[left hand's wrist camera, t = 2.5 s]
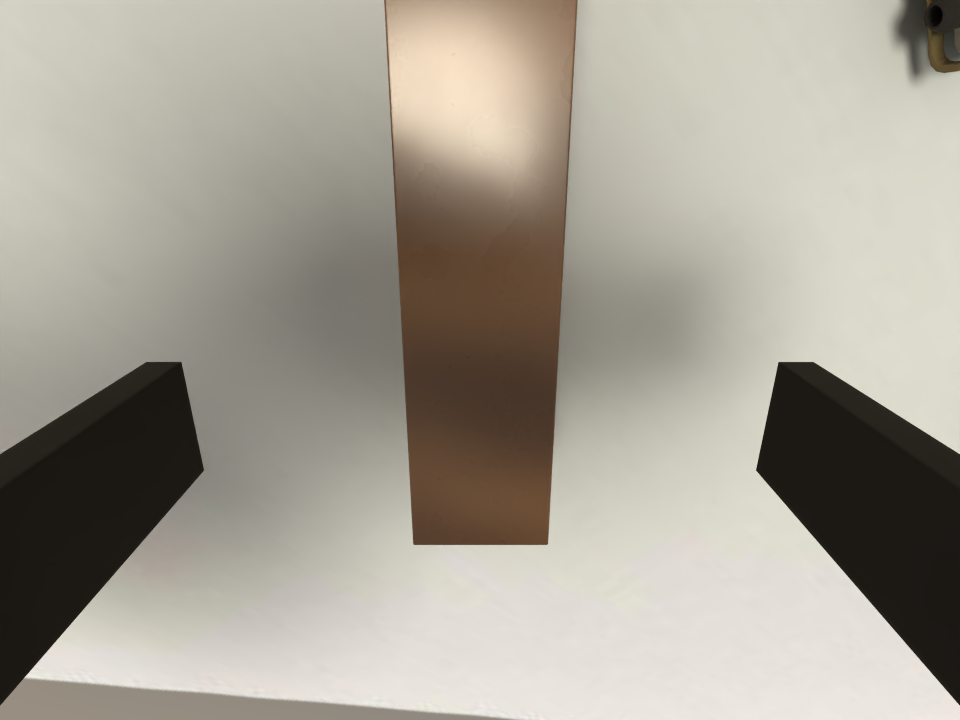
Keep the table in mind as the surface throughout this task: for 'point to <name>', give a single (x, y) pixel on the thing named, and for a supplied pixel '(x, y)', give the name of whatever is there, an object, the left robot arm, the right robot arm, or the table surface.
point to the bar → (480, 256)
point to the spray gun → (949, 7)
